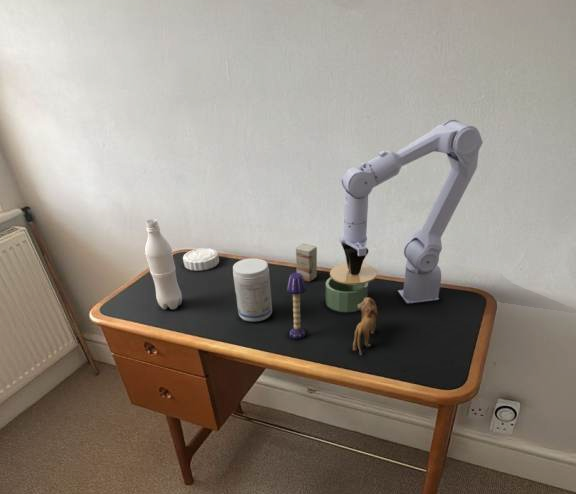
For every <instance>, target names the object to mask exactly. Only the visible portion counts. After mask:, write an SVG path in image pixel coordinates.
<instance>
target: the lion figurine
mask: <svg viewBox="0 0 576 494" xmlns="http://www.w3.org/2000/svg"><path fill="white" fill-rule="evenodd" d="M357 306H358V308H359V309H360V310H359V311H360V312H361V320H360V322H358V324H357V325H356V329H355V330H354V339H353V343H352V351H358V352H359V355H360V356H363V350H362V349H361V348H362V347H361V335H362V337H363V339H364V345H365V347H366V348H369V347H370V346H372V345H371V343H369V341H370V334H372V335H374V334H375V330H376V326H377V321H378V314H379V313H378V306H377V303H376V301H375V300H374V299H373V298H372V297H369V296H368V297H367V298H364V301H363V302H362V303H359V304H358V305H357Z"/></svg>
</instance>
